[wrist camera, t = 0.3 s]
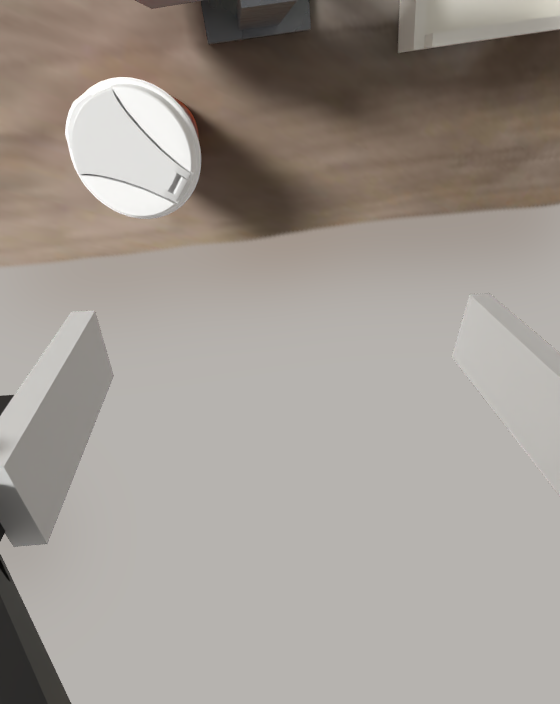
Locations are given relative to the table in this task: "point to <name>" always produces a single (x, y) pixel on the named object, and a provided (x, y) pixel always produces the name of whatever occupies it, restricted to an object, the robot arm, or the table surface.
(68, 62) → the table surface
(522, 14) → the white square tray
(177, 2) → the lever
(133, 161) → the paper cup
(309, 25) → the stand
